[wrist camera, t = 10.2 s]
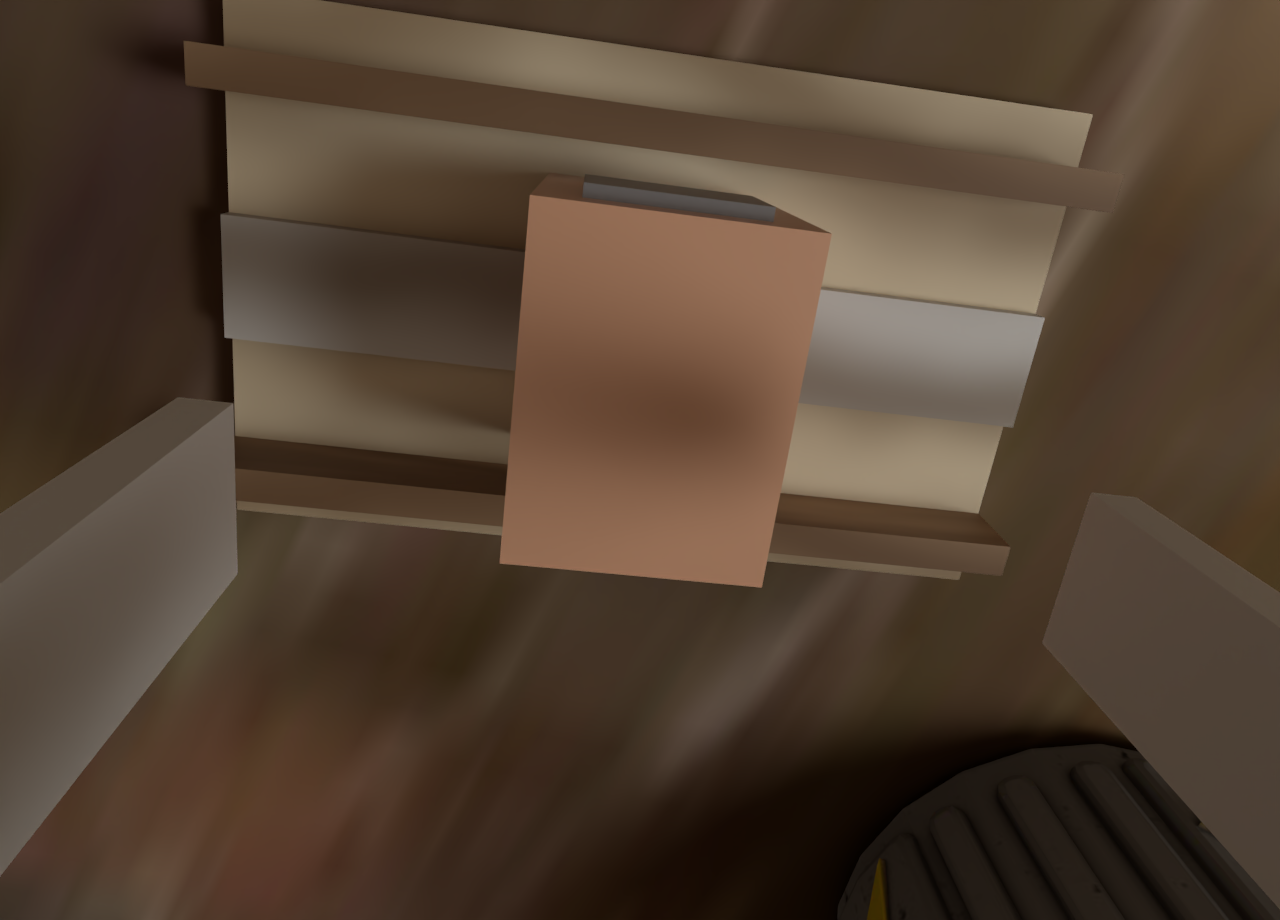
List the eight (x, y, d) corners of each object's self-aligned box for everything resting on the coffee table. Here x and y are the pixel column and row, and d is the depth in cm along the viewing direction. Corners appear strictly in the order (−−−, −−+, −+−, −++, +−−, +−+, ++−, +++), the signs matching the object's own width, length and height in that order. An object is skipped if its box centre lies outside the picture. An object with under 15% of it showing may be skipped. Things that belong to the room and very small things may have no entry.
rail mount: (946, 563, 32) (989, 617, 28) (251, 494, 30) (205, 544, 26) (1071, 114, 27) (1143, 113, 23) (239, -9, 24) (180, -30, 21)
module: (717, 463, 28) (761, 587, 21) (525, 443, 27) (499, 563, 20) (763, 189, 25) (835, 218, 18) (550, 160, 25) (531, 179, 17)
